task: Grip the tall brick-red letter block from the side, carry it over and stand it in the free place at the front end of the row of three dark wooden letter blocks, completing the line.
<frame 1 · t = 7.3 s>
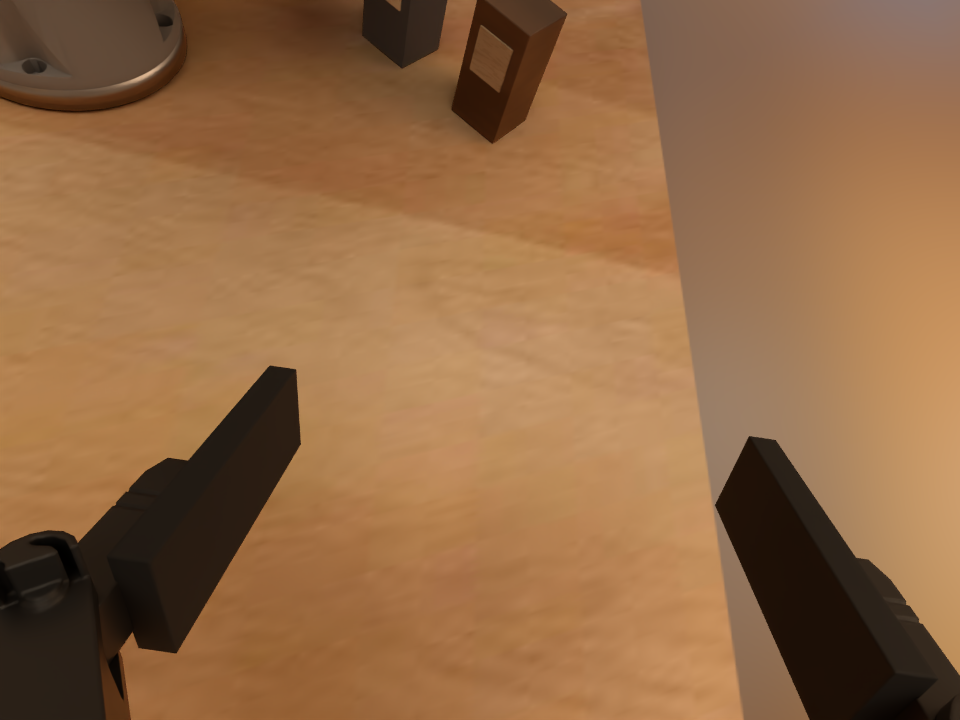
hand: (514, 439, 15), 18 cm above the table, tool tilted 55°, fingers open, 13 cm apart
line block 2: (400, 42, 48), on the table
line block 1: (488, 115, 47), on the table
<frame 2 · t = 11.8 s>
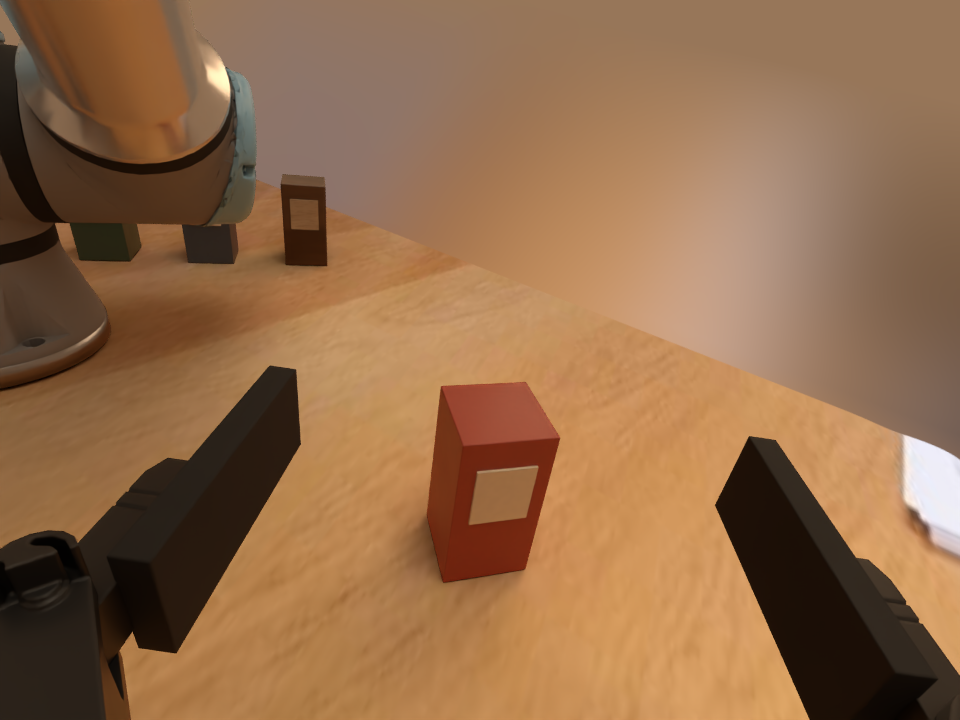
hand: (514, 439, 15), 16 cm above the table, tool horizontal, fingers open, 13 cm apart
line block 3: (112, 253, 61), on the table
line block 2: (214, 255, 64), on the table
line block 1: (306, 258, 68), on the table
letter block: (474, 541, 31), on the table
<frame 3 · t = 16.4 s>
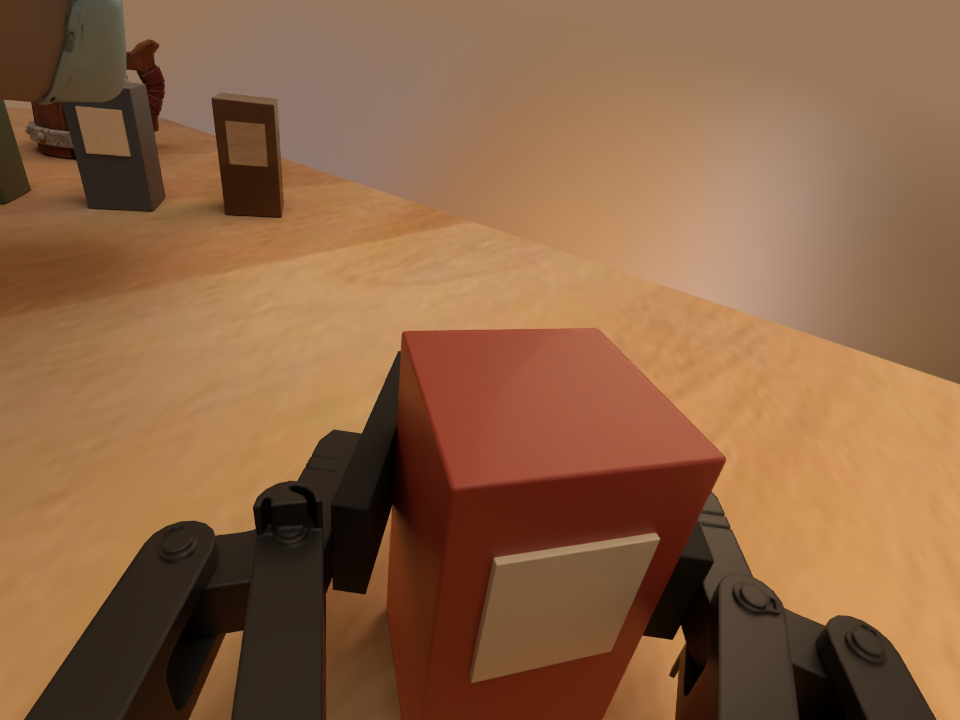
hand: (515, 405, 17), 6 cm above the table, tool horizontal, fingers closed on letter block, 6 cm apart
mug: (108, 152, 65), on the table
line block 2: (129, 202, 48), on the table
line block 1: (256, 209, 51), on the table
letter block: (481, 666, 15), on the table, touching gripper
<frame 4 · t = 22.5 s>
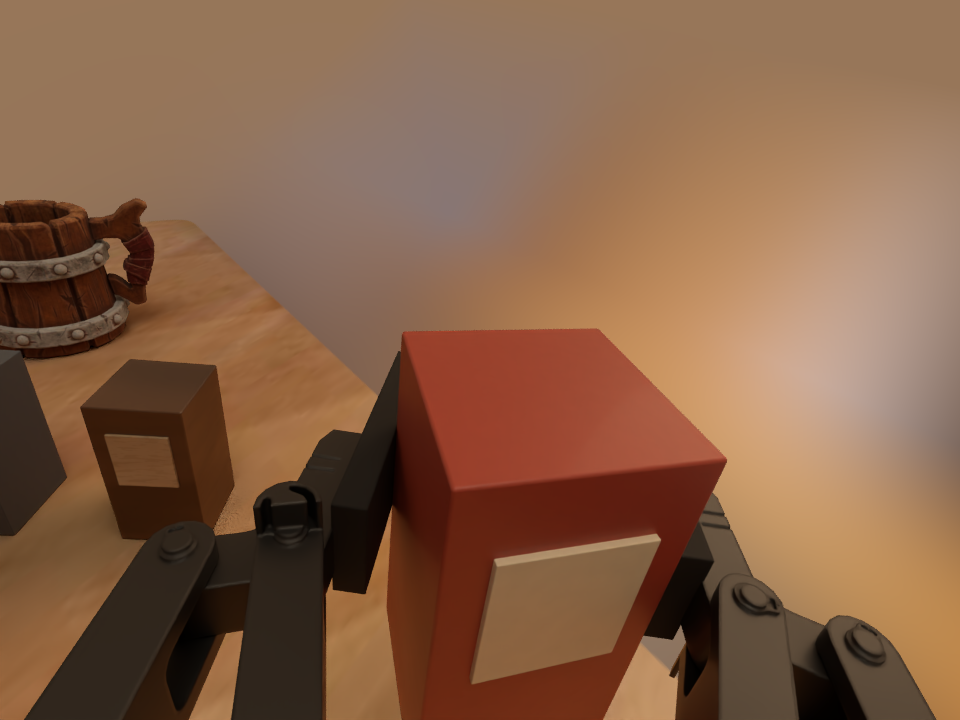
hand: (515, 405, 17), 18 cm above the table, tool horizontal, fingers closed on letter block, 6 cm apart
mug: (83, 330, 52), on the table
line block 2: (0, 502, 33), on the table
line block 1: (182, 510, 34), on the table
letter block: (481, 667, 15), point 12 cm above the table, touching gripper
when the fingers open (6 cm above the table, at t = 28.5 s): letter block stays where it is, on the table.
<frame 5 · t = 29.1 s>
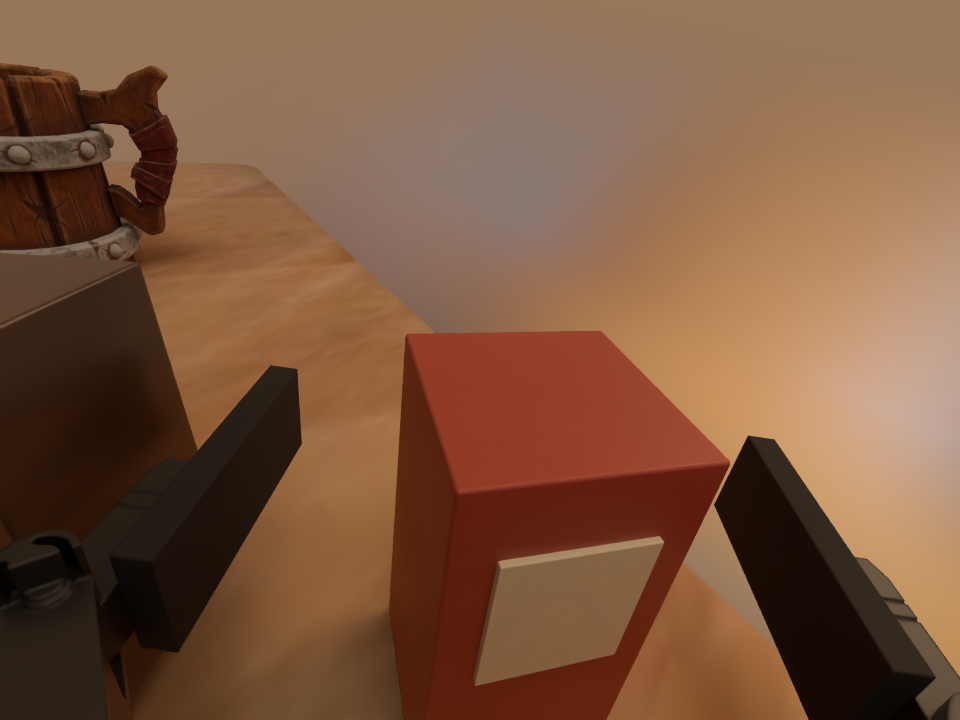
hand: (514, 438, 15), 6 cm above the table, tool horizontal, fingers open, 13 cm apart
mug: (73, 268, 35), on the table
line block 1: (104, 611, 15), on the table, tilted 6°, touching gripper
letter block: (484, 668, 15), on the table
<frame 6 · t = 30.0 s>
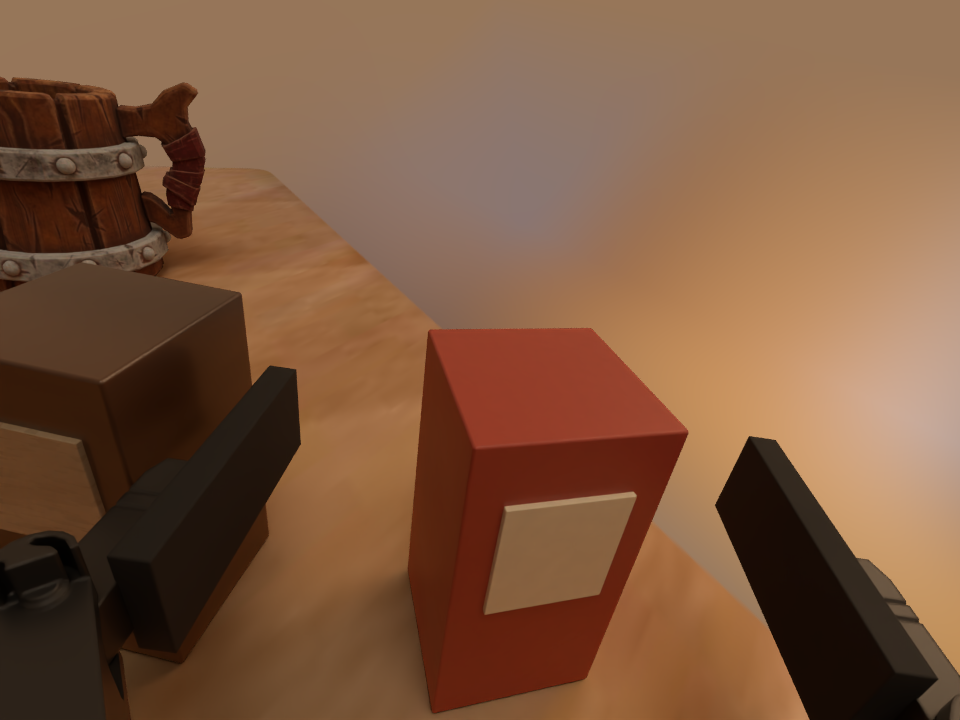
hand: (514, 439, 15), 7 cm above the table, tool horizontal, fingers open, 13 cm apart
mug: (107, 270, 38), on the table
line block 1: (163, 575, 18), on the table
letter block: (490, 619, 18), on the table
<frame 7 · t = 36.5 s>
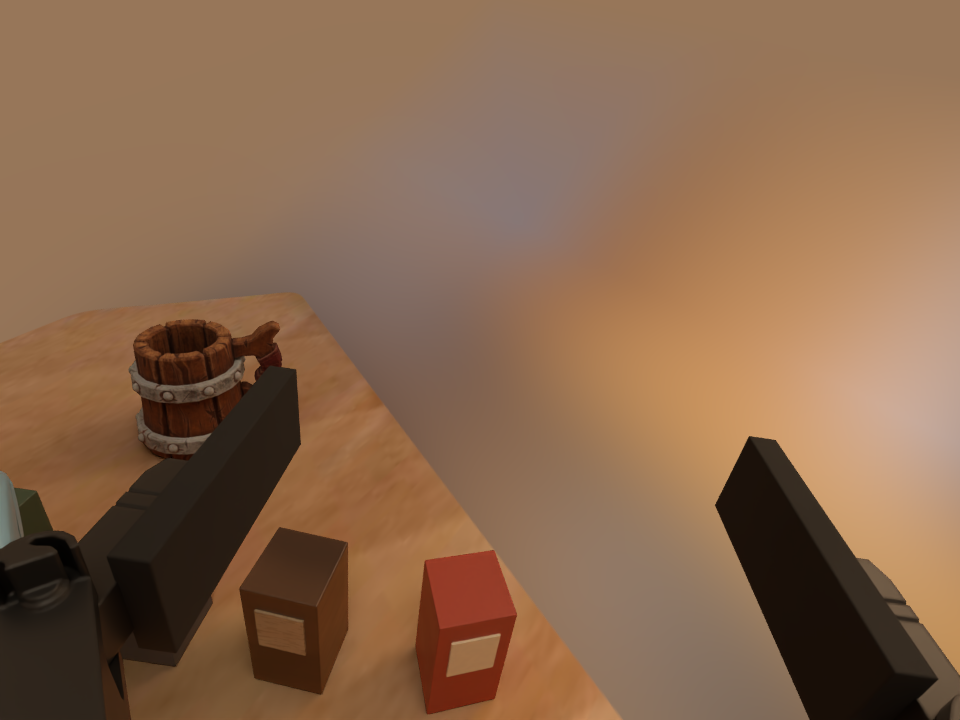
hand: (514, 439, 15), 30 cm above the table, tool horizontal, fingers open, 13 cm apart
mug: (216, 428, 58), on the table
line block 3: (17, 606, 38), on the table
line block 2: (162, 628, 38), on the table
line block 1: (303, 652, 38), on the table
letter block: (453, 671, 38), on the table
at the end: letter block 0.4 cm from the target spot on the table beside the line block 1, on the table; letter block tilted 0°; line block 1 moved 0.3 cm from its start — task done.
